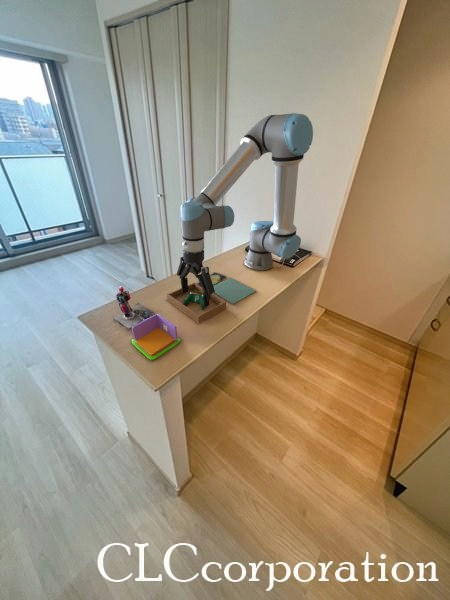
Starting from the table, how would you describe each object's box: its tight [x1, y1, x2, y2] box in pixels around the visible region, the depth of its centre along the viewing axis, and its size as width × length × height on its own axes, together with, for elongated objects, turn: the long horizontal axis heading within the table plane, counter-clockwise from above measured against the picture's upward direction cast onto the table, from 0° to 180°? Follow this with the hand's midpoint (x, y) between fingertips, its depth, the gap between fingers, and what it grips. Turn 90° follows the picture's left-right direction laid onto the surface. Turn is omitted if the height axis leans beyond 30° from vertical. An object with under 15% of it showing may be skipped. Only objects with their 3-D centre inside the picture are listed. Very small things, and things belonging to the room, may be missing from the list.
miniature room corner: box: [131, 313, 181, 361], centre depth 77 cm, size 12×12×7 cm
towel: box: [213, 277, 257, 305], centre depth 107 cm, size 15×16×1 cm
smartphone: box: [196, 272, 227, 287], centre depth 114 cm, size 7×1×15 cm
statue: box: [113, 285, 155, 331], centre depth 85 cm, size 11×9×15 cm
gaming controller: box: [182, 291, 205, 310], centre depth 97 cm, size 9×4×6 cm
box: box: [166, 282, 227, 324], centre depth 97 cm, size 14×20×3 cm
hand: (195, 299), depth 96 cm, fingers open, 13 cm apart
